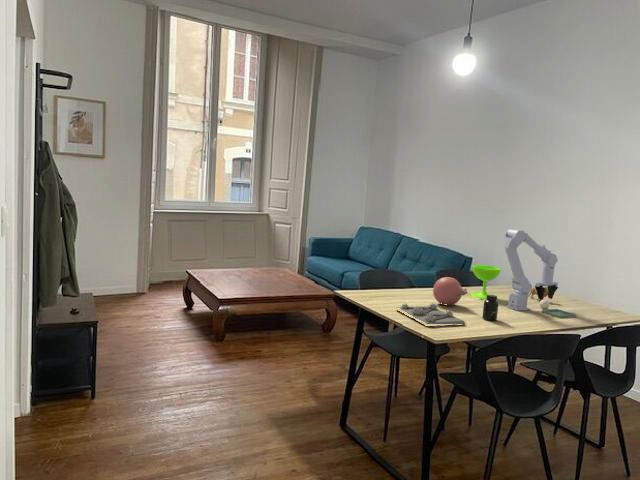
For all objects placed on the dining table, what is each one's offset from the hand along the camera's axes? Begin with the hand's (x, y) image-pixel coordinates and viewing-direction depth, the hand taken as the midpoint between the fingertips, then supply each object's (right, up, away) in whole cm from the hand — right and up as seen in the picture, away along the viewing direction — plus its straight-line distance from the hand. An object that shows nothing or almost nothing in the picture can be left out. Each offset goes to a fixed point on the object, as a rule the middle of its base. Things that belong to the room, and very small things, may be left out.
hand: (545, 298), depth 275 cm
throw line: (0, -6, -4) cm, 7 cm away
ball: (0, -6, +1) cm, 6 cm away
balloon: (-54, -3, -6) cm, 55 cm away
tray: (+2, -7, -11) cm, 14 cm away
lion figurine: (+6, -4, +22) cm, 24 cm away
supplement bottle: (-41, -7, -29) cm, 51 cm away
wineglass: (-27, -2, +21) cm, 35 cm away
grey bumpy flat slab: (-71, -6, -33) cm, 79 cm away
